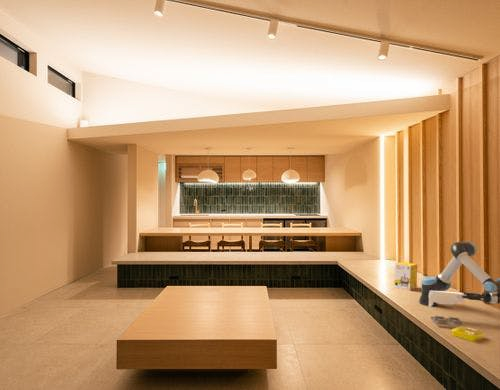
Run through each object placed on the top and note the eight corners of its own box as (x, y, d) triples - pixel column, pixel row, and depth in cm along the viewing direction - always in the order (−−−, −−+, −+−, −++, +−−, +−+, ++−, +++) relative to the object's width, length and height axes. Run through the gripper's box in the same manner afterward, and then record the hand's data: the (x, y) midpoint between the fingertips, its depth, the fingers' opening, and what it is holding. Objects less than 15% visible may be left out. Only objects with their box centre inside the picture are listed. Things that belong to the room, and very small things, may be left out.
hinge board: (430, 318, 277) (430, 313, 277) (459, 321, 273) (459, 315, 273) (439, 327, 257) (439, 321, 257) (469, 330, 253) (469, 324, 254)
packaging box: (394, 287, 375) (395, 263, 375) (401, 285, 386) (402, 261, 386) (409, 290, 363) (410, 265, 363) (416, 288, 374) (417, 264, 374)
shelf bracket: (427, 305, 283) (428, 289, 283) (460, 308, 280) (461, 292, 281) (430, 307, 278) (431, 291, 278) (464, 310, 275) (465, 294, 275)
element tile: (484, 338, 240) (485, 331, 240) (474, 343, 231) (474, 335, 232) (461, 331, 252) (461, 324, 252) (450, 335, 244) (450, 328, 244)
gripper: (494, 305, 265) (460, 303, 270) (483, 299, 282) (451, 297, 287) (494, 295, 265) (460, 293, 270) (484, 290, 283) (452, 287, 287)
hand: (456, 295), depth 278 cm, fingers closed on shelf bracket, 4 cm apart
